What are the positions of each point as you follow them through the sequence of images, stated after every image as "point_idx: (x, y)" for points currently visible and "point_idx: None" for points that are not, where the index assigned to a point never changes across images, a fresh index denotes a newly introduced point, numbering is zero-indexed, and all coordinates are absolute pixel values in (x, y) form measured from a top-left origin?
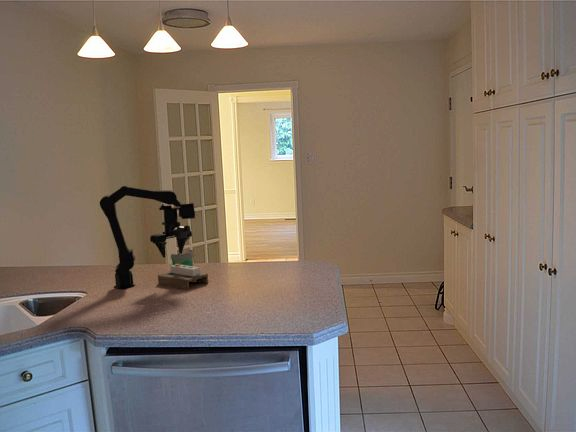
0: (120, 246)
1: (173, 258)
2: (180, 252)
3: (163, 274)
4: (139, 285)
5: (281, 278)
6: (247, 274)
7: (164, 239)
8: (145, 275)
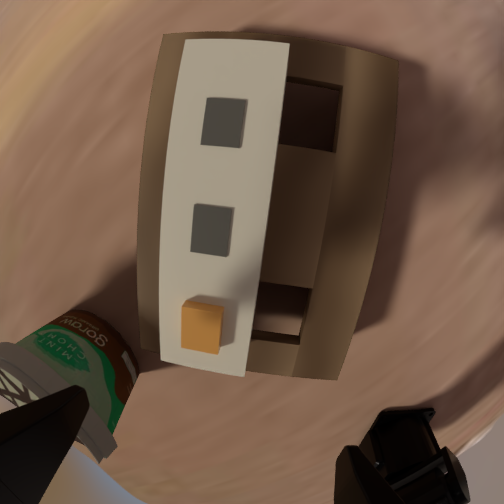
0: None
1: (107, 432)
2: (79, 404)
3: (313, 357)
4: (369, 403)
5: None
6: (22, 39)
7: None
8: (213, 462)
